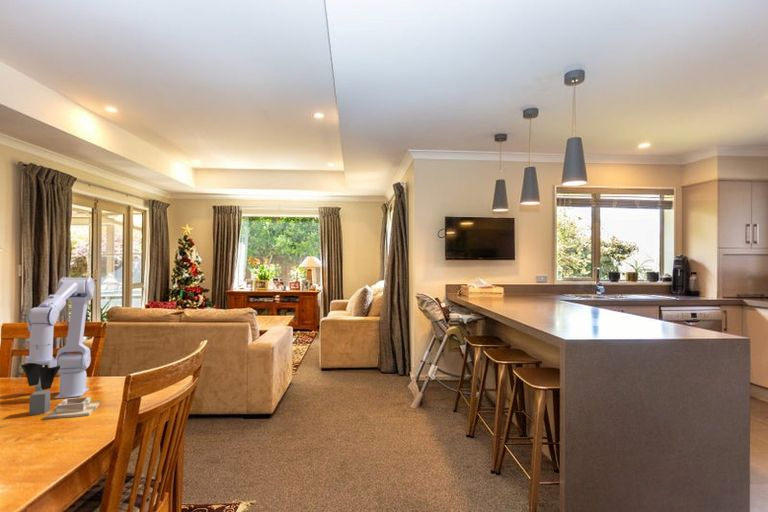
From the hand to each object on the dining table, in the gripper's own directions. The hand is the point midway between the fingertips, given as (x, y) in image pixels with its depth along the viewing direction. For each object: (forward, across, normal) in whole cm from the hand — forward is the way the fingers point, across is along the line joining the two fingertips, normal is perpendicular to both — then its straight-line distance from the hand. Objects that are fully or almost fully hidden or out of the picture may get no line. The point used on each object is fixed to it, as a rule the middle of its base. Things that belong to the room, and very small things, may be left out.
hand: (39, 387), depth 128 cm
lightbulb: (+10, -28, +13) cm, 32 cm away
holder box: (+10, +4, +8) cm, 13 cm away
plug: (+10, -5, +2) cm, 11 cm away
